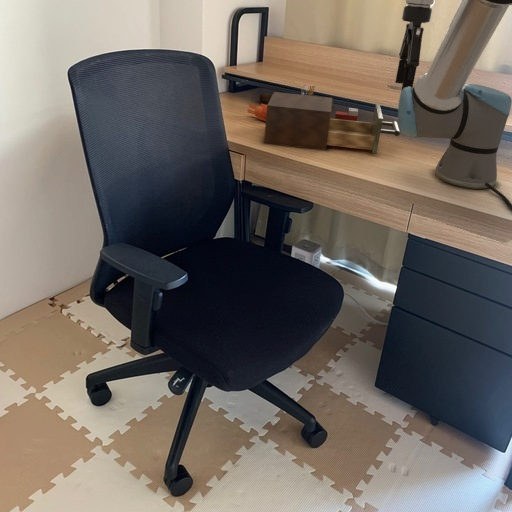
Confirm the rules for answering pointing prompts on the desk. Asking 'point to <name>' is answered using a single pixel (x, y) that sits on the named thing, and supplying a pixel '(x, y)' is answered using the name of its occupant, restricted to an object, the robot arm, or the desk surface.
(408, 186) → the desk surface
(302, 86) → the utensil holder
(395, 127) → the drawer
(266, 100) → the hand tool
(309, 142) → the cabinet
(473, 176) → the robot arm
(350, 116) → the red base white blocks
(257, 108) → the orange toy bird
